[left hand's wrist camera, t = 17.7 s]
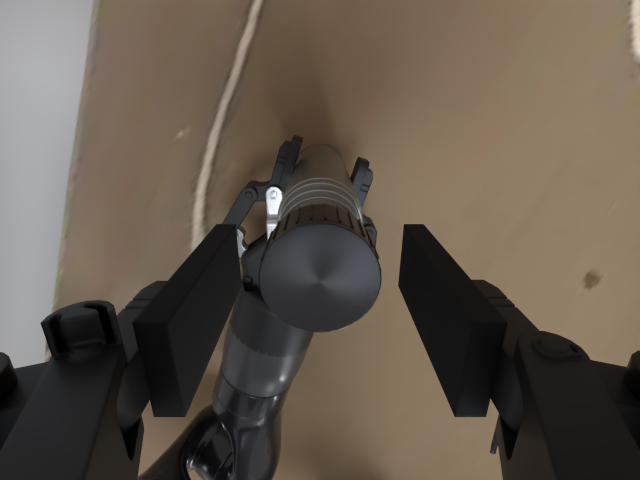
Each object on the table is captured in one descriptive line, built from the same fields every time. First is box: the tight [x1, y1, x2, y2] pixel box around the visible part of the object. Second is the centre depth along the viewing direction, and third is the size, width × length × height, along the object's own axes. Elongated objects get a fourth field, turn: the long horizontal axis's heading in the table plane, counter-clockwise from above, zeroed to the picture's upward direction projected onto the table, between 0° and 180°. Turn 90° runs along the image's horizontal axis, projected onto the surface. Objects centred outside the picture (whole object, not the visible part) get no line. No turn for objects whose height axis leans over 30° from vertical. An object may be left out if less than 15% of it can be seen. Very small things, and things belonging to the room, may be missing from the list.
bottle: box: [277, 144, 363, 224], centre depth 23 cm, size 4×4×22 cm
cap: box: [259, 203, 381, 332], centre depth 13 cm, size 4×4×2 cm
